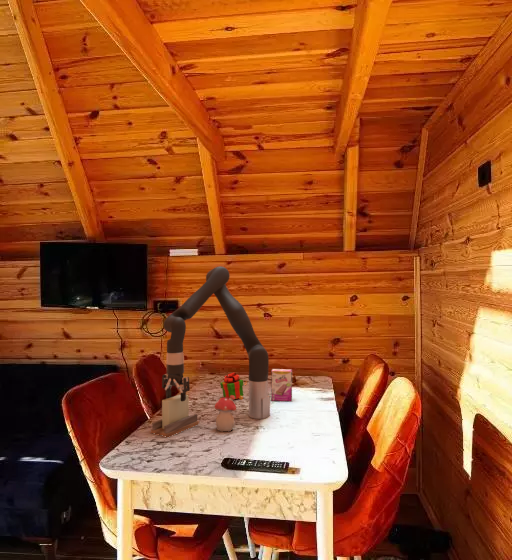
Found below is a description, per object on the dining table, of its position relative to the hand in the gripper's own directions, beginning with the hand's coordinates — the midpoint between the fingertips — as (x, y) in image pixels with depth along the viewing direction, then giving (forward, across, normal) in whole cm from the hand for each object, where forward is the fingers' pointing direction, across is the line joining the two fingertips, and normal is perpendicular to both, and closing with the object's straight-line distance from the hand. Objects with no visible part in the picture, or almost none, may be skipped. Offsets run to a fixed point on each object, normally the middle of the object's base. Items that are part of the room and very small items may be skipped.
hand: (175, 399), depth 181 cm
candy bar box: (+14, -17, -63) cm, 67 cm away
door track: (+13, 0, 0) cm, 13 cm away
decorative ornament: (+13, -19, -11) cm, 25 cm away
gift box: (+13, +6, -51) cm, 53 cm away
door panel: (+11, 0, 0) cm, 11 cm away
